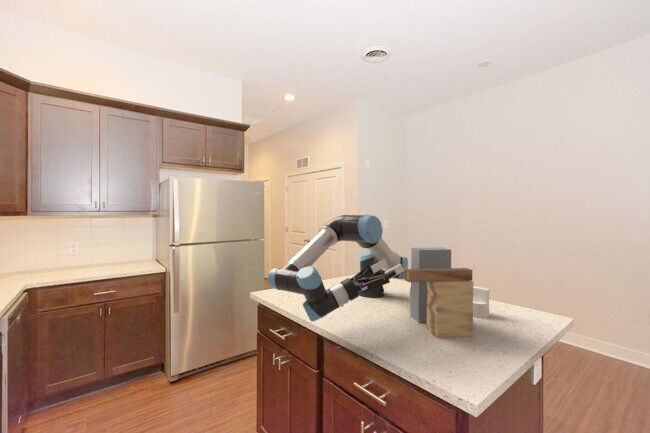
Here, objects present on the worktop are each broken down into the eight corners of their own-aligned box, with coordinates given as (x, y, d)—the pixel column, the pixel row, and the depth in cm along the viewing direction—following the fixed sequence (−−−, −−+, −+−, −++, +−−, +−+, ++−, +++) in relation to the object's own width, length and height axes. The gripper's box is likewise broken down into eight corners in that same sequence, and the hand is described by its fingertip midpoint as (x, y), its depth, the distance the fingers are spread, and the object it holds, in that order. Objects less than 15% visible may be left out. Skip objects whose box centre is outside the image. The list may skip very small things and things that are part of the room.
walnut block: (404, 279, 114) (404, 269, 114) (465, 278, 117) (466, 267, 117) (408, 282, 110) (408, 271, 110) (472, 280, 113) (472, 269, 113)
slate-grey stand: (410, 316, 132) (411, 247, 132) (440, 315, 134) (441, 247, 134) (418, 322, 124) (419, 250, 124) (450, 321, 126) (451, 249, 126)
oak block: (426, 329, 117) (427, 277, 117) (460, 327, 119) (460, 277, 119) (436, 337, 110) (437, 282, 109) (472, 336, 111) (473, 281, 111)
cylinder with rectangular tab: (463, 314, 135) (463, 287, 135) (470, 309, 142) (470, 284, 142) (485, 319, 129) (486, 291, 129) (491, 314, 136) (491, 287, 136)
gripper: (339, 293, 122) (384, 268, 126) (360, 311, 97) (414, 279, 102) (331, 276, 121) (376, 252, 125) (350, 290, 97) (405, 260, 101)
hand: (393, 264), depth 113 cm, fingers open, 13 cm apart
